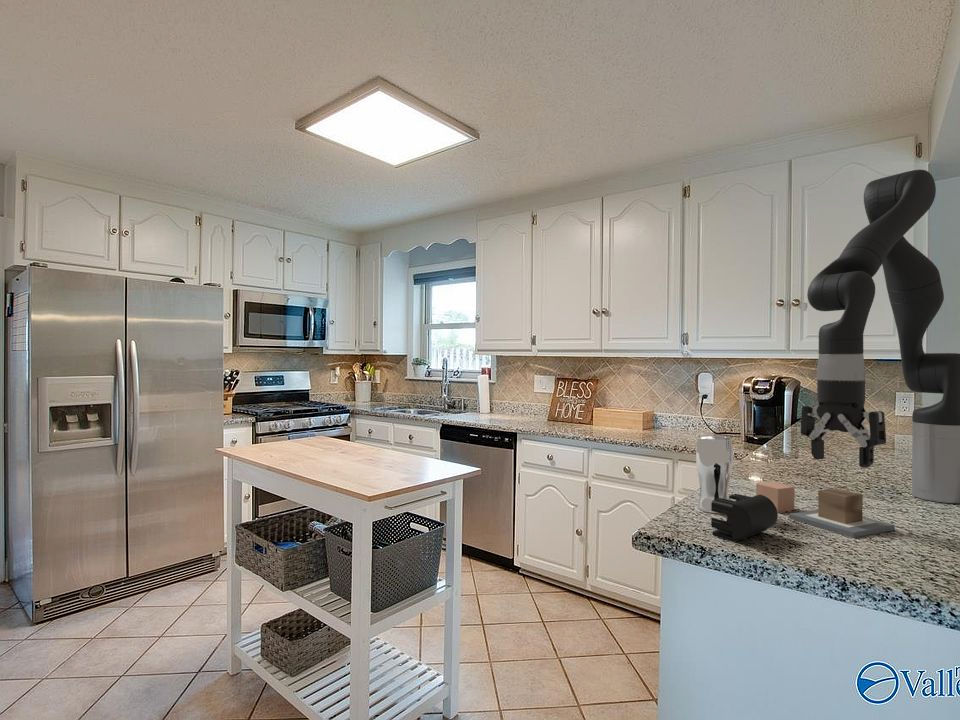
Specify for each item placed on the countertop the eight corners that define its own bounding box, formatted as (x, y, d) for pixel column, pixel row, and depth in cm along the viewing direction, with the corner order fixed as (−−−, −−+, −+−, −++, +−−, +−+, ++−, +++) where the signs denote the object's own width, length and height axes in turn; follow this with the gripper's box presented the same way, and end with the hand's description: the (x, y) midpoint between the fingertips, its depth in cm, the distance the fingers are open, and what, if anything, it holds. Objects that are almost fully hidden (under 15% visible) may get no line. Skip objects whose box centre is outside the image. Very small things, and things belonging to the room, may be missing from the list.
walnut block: (835, 513, 102) (835, 488, 102) (862, 521, 97) (862, 494, 97) (818, 516, 100) (818, 490, 100) (845, 524, 95) (845, 496, 95)
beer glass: (736, 515, 103) (737, 440, 103) (699, 513, 104) (700, 439, 105) (727, 506, 110) (727, 435, 110) (692, 504, 111) (693, 434, 111)
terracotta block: (772, 504, 112) (772, 481, 112) (794, 510, 107) (794, 486, 107) (756, 507, 110) (756, 483, 110) (777, 513, 105) (777, 489, 105)
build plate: (828, 512, 106) (828, 507, 106) (894, 529, 95) (894, 524, 95) (788, 518, 101) (788, 513, 101) (853, 537, 90) (853, 532, 90)
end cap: (750, 547, 85) (750, 506, 85) (709, 535, 91) (709, 497, 91) (778, 536, 91) (778, 497, 91) (738, 525, 97) (738, 489, 97)
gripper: (894, 378, 93) (894, 468, 93) (816, 376, 106) (816, 455, 107) (868, 379, 90) (869, 472, 90) (791, 377, 104) (792, 457, 104)
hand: (840, 462), depth 98 cm, fingers open, 8 cm apart
